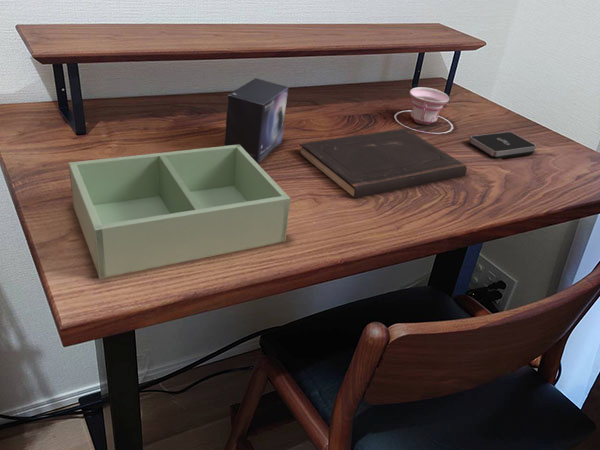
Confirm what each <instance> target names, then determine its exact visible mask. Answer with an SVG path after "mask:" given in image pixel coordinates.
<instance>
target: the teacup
mask: <svg viewBox="0 0 600 450" xmlns="http://www.w3.org/2000/svg"><path fill="white" fill-rule="evenodd" d="M409 97H410V98H411V104H412V108H411V109H408V110H401V111H398V112H396V113H395V114H394V118H393V119H395V121H396V122H397V123H398V124H399V125H401V126H403V127H404V128H406V129H407V128H408V129H410V130H413V131H416V132H419V133H425V134H430V132H429V131H424V130H418V129H414V128H412V127H409V126H406V125H405V124H403V123H402V122H400V121H399V120H398V119H397V116H398V115H399V114H402V113H405V112H410V117H411V118H412V119H413V121H414V122H415V123H417V124H419V125H424V126H430V125H432V124H434V123H436V122H438V118H440V119H443V120H444V121H446V122H447V123H448V124H449V125H450V129H449V130H447V131H443V132H431V134H434V135H441V134H442V135H443V134H447V133H450V132H452V131H453V130H454V124H453V123H452V122H451V121H450V120H448V119H447V118H445V117H444V116H441V115H439V113H440V112H441V110H443V109H444V106H445V105H447V104H448V103H449V101H450V97H449V95H448V94H447V93H445V92H443V91H442V90H439V89H436V88H432V87H425V86H424V87H423V86H418V87H413V88H411V89H410V90H409Z"/></svg>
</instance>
